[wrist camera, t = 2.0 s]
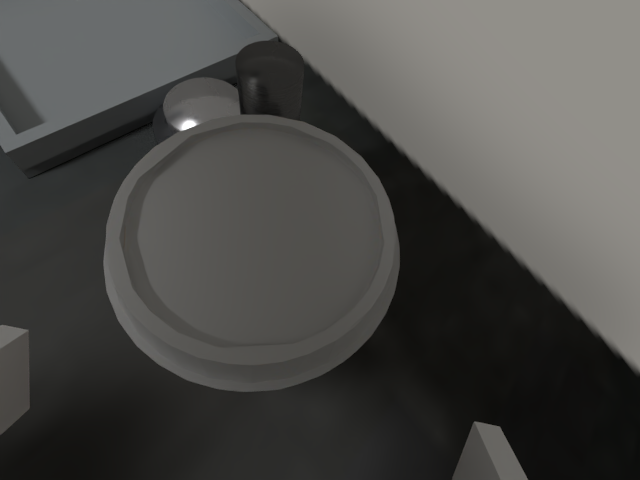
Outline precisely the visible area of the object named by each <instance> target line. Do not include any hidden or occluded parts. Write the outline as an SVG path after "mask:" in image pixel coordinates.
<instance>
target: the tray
mask: <svg viewBox="0 0 640 480" xmlns="http://www.w3.org/2000/svg"><path fill="white" fill-rule="evenodd" d="M258 41H277V42H278V35H276V34H275V33H274V32H273V31H272V30H271V29H270V28H269V27H268V26H267V25H265V24H264V23H263V22H262V21H261V20H260V19H259V18H258V17H257V16H256V15H254V14H253V13H252V12H251V11H250V10H249V9H248V8H247V7H246V6H245V5H243V4H242V3H241V2H240V1H239V0H0V145H1V147H2V148H3V150H4V152H5V153H6V154H7V155H8V156H9V157H10V159H11V160H12V161H13V162H14V163H15V164H16V165H17V166H18V167H19V168H20V169H21V171H22V172H23V173H24V174H25V175H26V176H27V177H28V178H31V177H33V176H35V175H38V174H40V173H42V172H44V171H46V170H48V169H51V168H53V167H55V166H57V165H59V164H61V163H64V162H66V161H68V160H70V159H72V158H74V157H77V156H79V155H81V154H83V153H85V152H88V151H90V150H92V149H94V148H96V147H98V146H101V145H103V144H105V143H107V142H109V141H111V140H114V139H116V138H118V137H120V136H122V135H124V134H127V133H129V132H131V131H133V130H135V129H137V128H140V127H142V126H144V125H146V124H148V123H150V122H153V119H154V115H155V113H156V111H157V109H158V108H159V106H160V105H161V104H162V103H163V102H164V99H165V97H166V95H167V94H168V92H169V91H170V90H171V89H172V88H173V87H175V86H176V85H178V84H179V83H181V82H183V81H186V80H189V79H193V78H201V77H208V78H215V79H219V80H223V81H225V82H227V83H229V84H231V85H233V84H235V83H237V75H236V64H235V60H236V56H237V54H238V53H239V51H240V50H241V49H242V48H244V47H245V46H247V45H249V44H251V43H254V42H258Z"/></svg>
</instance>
